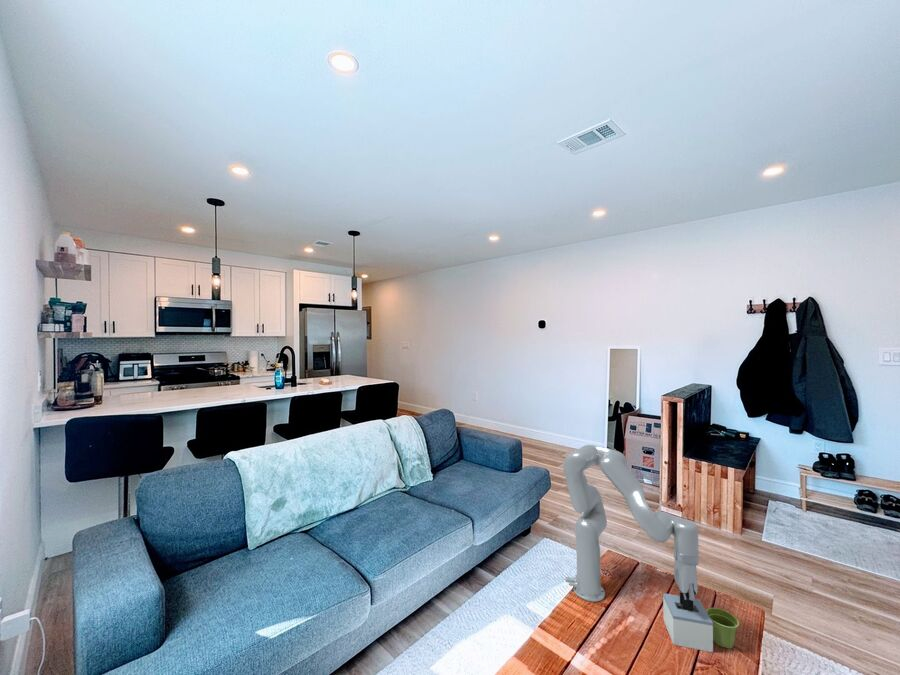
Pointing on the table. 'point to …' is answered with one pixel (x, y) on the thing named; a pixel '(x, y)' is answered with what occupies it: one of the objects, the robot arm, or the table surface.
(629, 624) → the table surface
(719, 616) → the plant pot
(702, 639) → the grey slotted box
